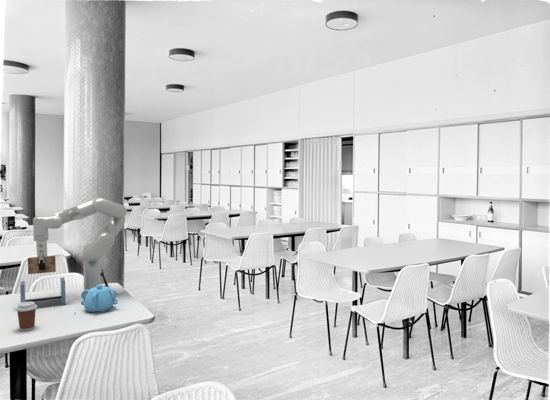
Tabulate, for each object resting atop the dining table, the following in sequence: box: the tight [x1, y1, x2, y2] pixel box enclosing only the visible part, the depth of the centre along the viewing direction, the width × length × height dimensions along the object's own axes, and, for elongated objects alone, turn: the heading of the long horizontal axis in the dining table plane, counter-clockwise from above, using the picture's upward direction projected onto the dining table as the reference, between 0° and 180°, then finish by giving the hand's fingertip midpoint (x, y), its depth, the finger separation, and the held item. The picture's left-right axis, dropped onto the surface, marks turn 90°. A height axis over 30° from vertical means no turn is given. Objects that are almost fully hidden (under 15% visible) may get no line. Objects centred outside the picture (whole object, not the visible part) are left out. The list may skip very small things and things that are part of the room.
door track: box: [19, 277, 67, 310], centre depth 251 cm, size 22×9×14 cm, turn 118°
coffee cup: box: [15, 302, 38, 331], centre depth 214 cm, size 9×9×12 cm
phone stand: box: [100, 268, 110, 288], centre depth 290 cm, size 9×6×12 cm, turn 113°
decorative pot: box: [80, 284, 119, 313], centre depth 244 cm, size 16×16×14 cm
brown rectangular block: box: [27, 255, 57, 275], centre depth 258 cm, size 14×3×9 cm, turn 116°
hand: (42, 269), depth 258 cm, fingers closed on brown rectangular block, 3 cm apart
